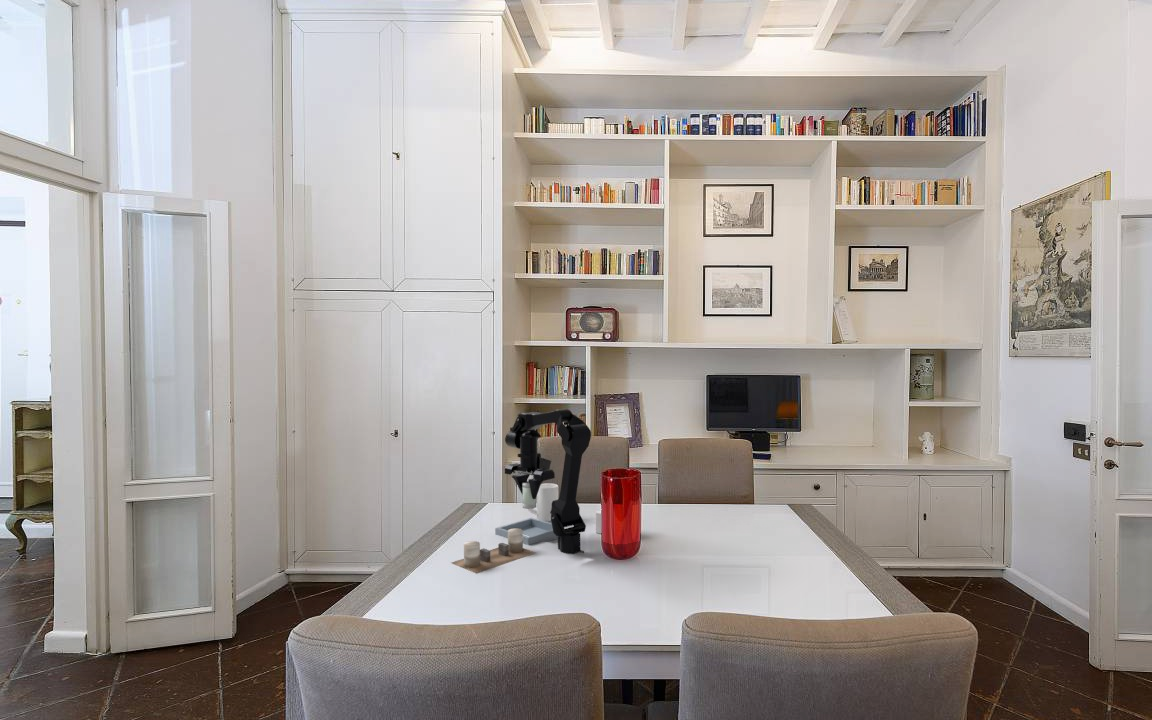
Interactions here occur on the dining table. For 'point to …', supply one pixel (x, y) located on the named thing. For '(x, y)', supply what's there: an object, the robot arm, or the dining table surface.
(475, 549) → the fuse rack
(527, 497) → the cylinder
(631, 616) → the dining table surface
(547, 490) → the mug
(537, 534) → the tray
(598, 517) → the medicine bottle
